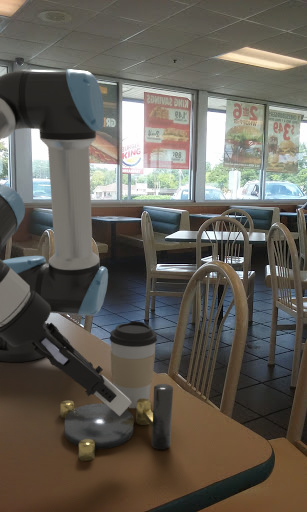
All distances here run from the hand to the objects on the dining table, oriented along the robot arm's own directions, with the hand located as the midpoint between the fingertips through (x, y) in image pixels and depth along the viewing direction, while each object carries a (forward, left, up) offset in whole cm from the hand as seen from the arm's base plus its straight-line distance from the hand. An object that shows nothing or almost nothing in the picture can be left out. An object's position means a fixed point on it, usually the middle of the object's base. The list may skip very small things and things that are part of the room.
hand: (124, 407), depth 73 cm
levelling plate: (-8, -2, -8) cm, 11 cm away
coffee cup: (-17, +7, -8) cm, 20 cm away
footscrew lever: (-3, +6, -7) cm, 10 cm away
